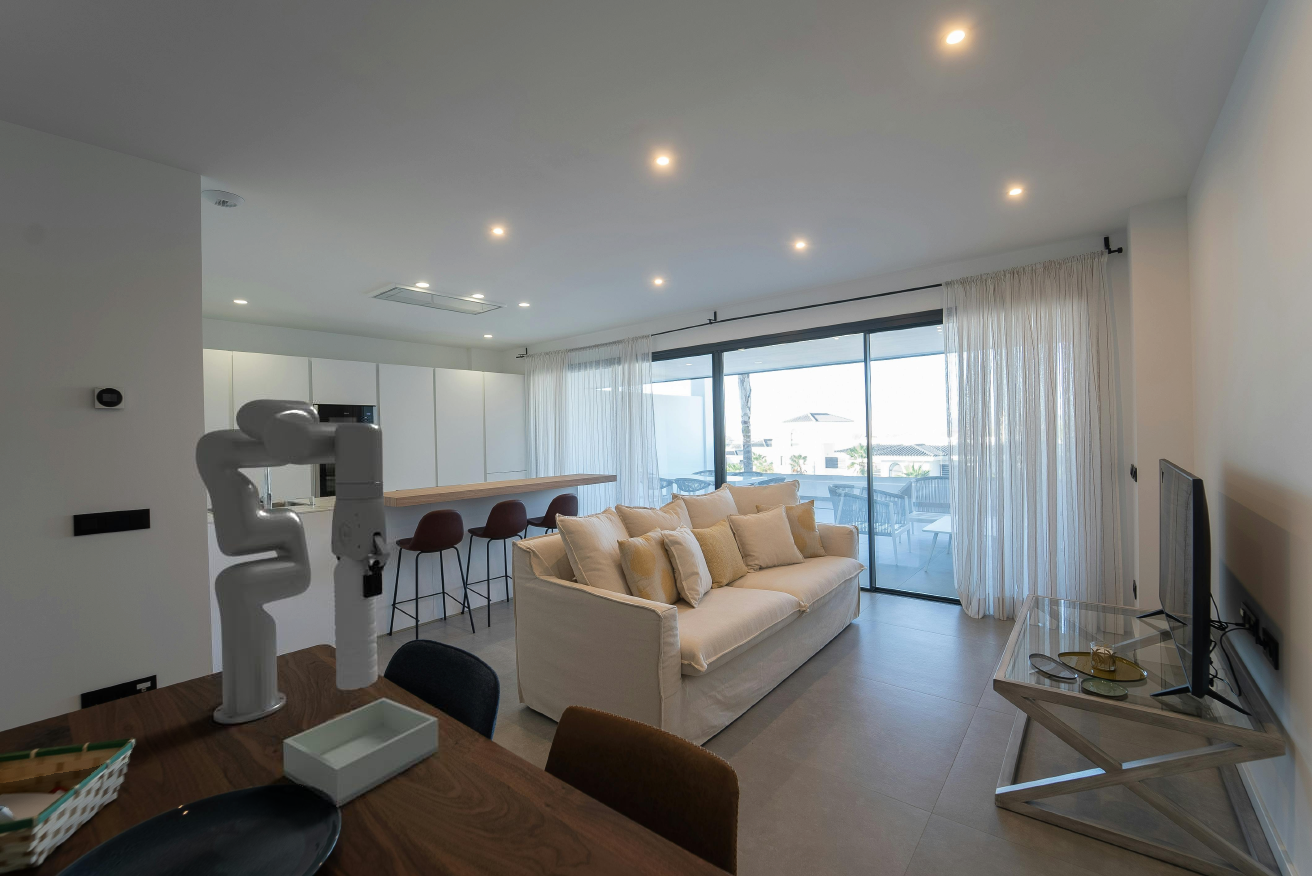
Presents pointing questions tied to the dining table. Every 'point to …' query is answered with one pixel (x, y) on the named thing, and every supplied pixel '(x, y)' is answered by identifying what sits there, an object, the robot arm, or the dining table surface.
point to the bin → (360, 749)
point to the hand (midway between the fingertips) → (361, 592)
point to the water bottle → (354, 627)
